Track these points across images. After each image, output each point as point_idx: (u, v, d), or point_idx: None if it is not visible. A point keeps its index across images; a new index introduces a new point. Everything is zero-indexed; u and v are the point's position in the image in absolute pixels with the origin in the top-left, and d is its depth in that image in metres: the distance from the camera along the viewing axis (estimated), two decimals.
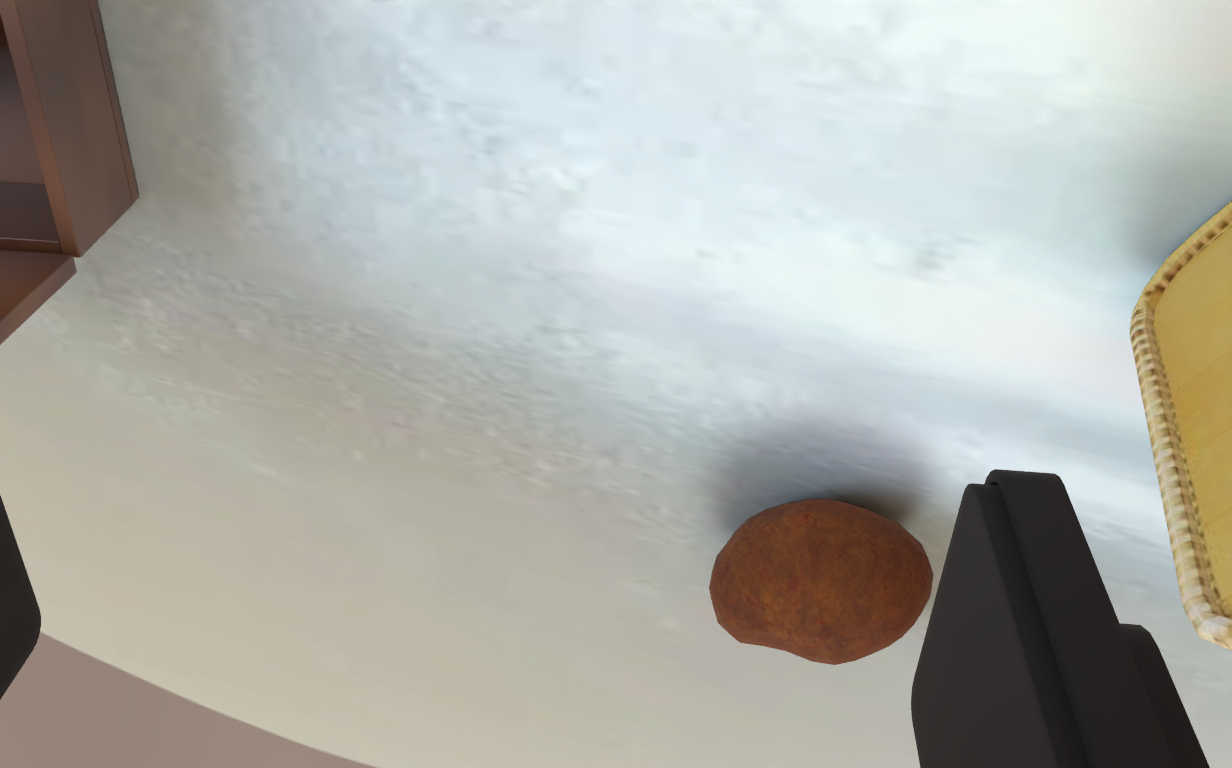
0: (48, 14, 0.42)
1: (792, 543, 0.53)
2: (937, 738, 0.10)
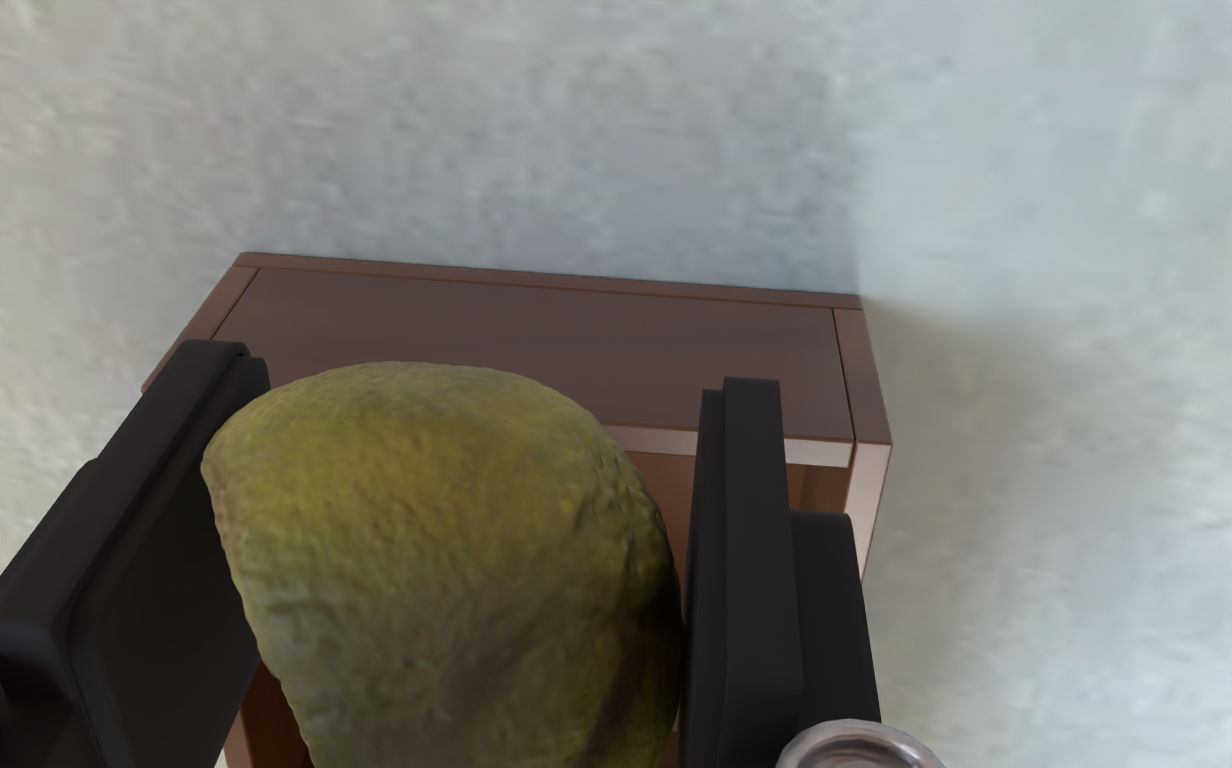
0: None
1: None
2: None
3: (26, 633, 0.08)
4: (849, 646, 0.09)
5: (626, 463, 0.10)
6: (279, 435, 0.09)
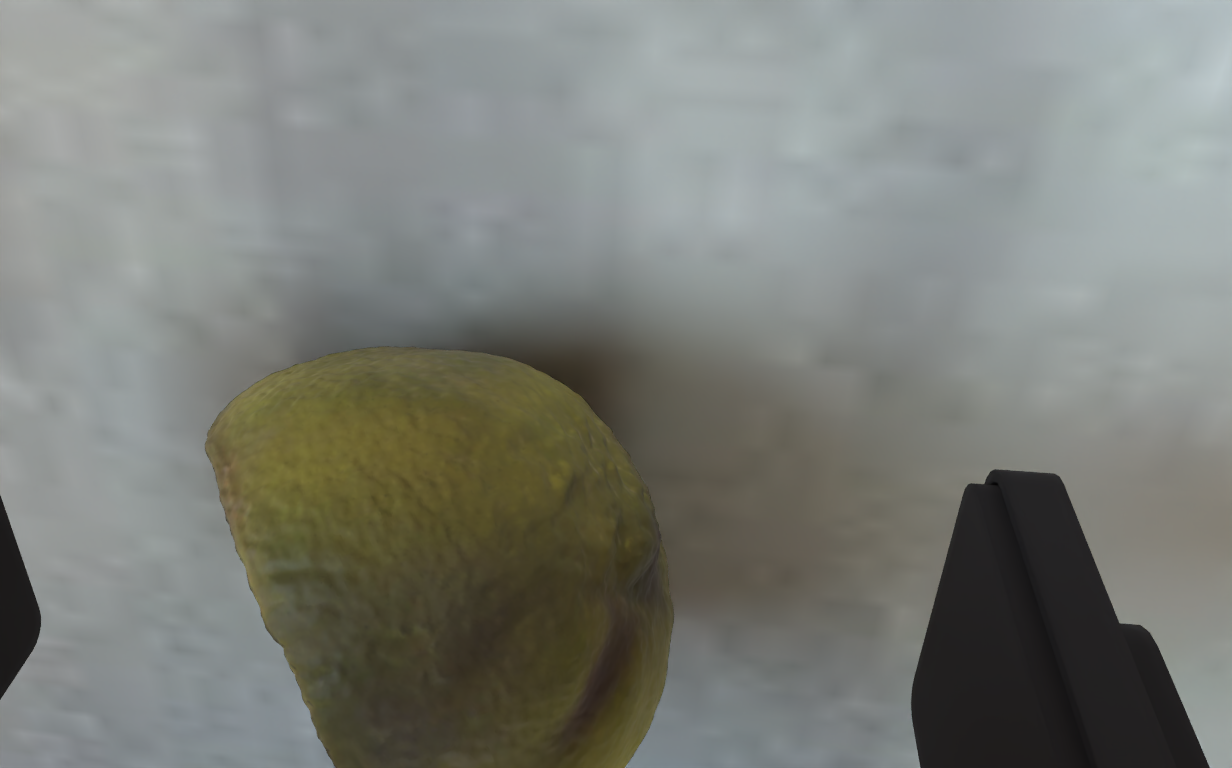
0: None
1: None
2: (937, 738, 0.10)
3: None
4: None
5: (615, 444, 0.11)
6: (280, 414, 0.09)
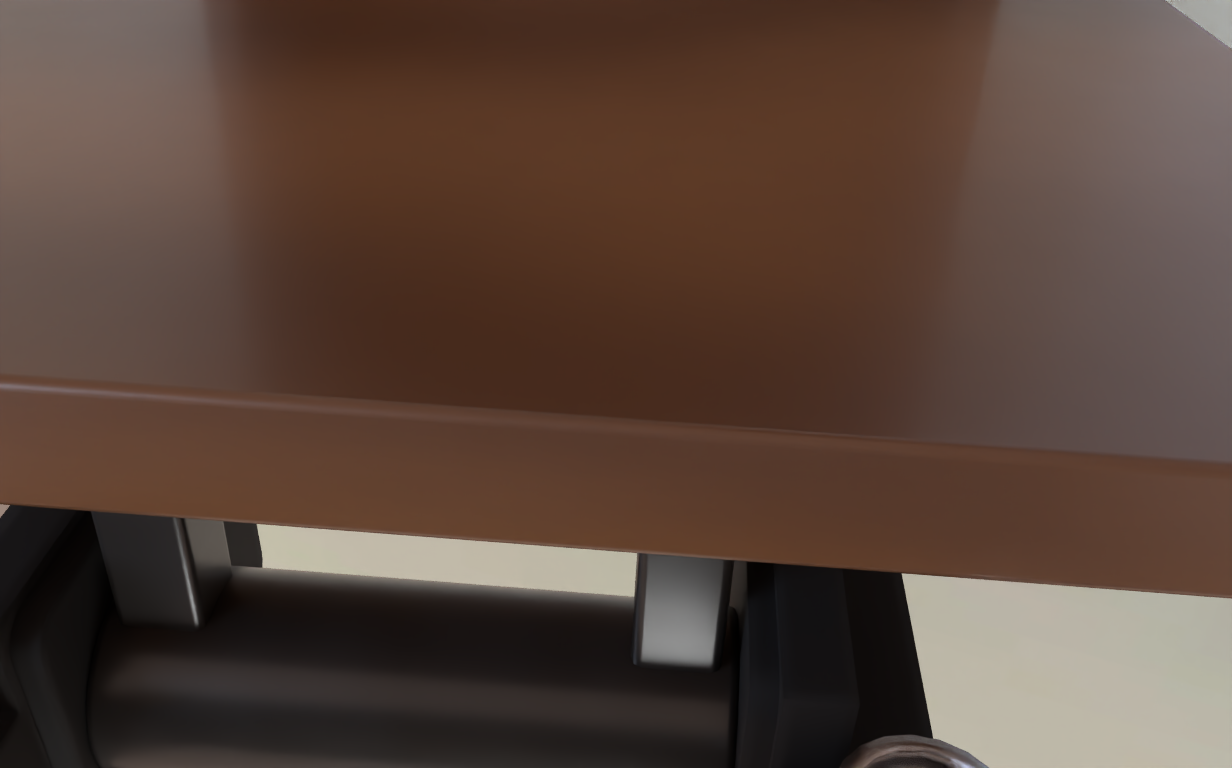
0: None
1: None
2: None
3: None
4: (896, 659, 0.09)
5: None
6: None
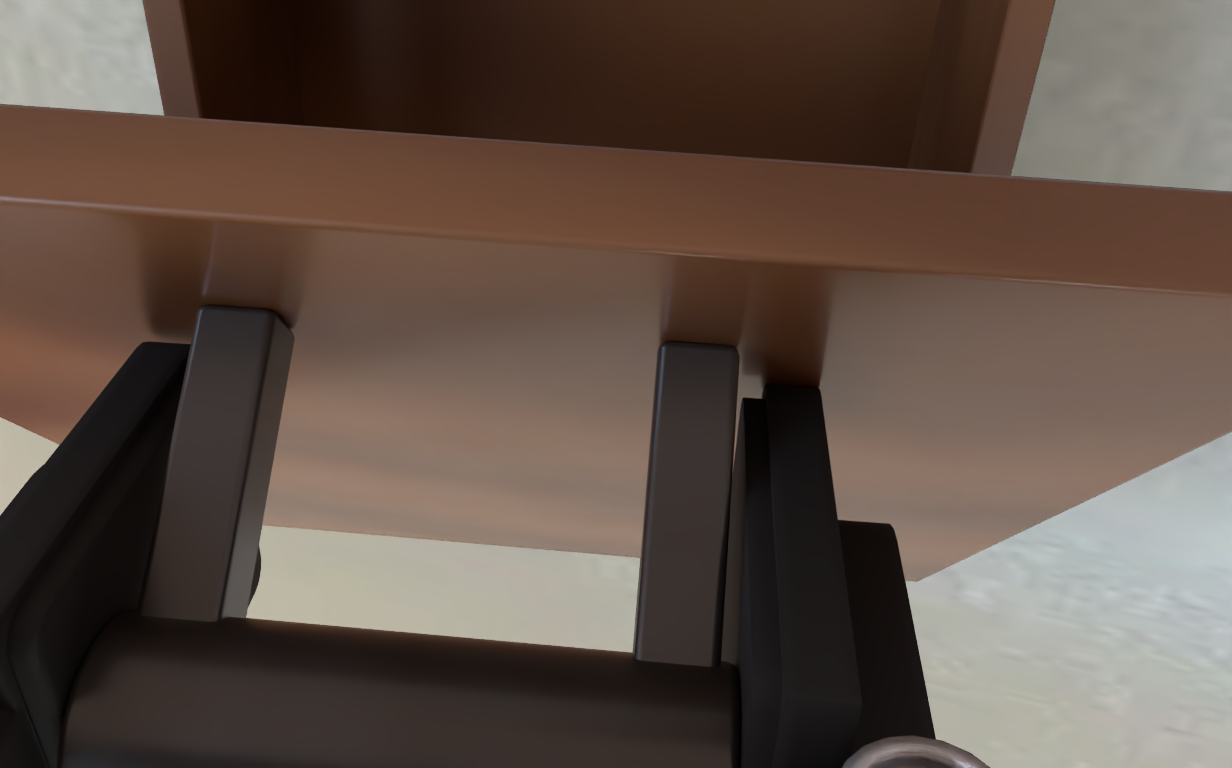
0: None
1: None
2: None
3: None
4: (898, 660, 0.09)
5: None
6: None
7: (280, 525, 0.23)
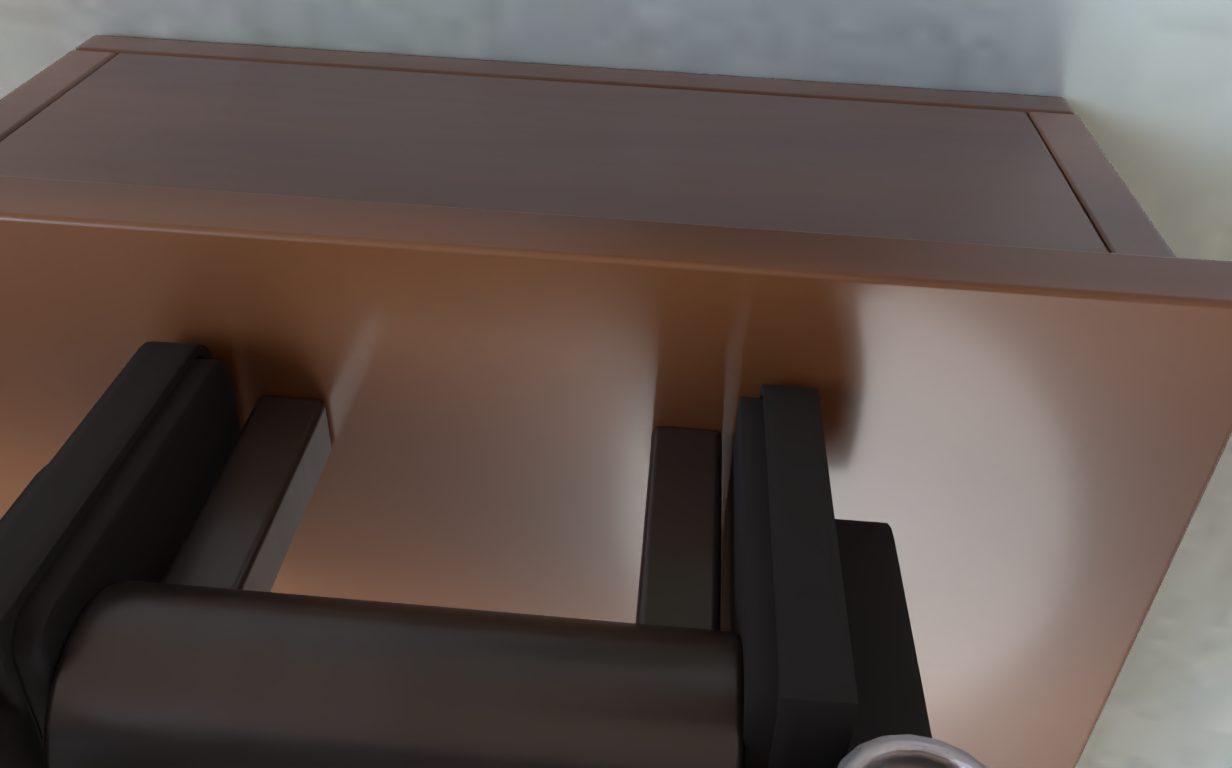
0: None
1: None
2: None
3: None
4: (896, 659, 0.09)
5: None
6: None
7: None
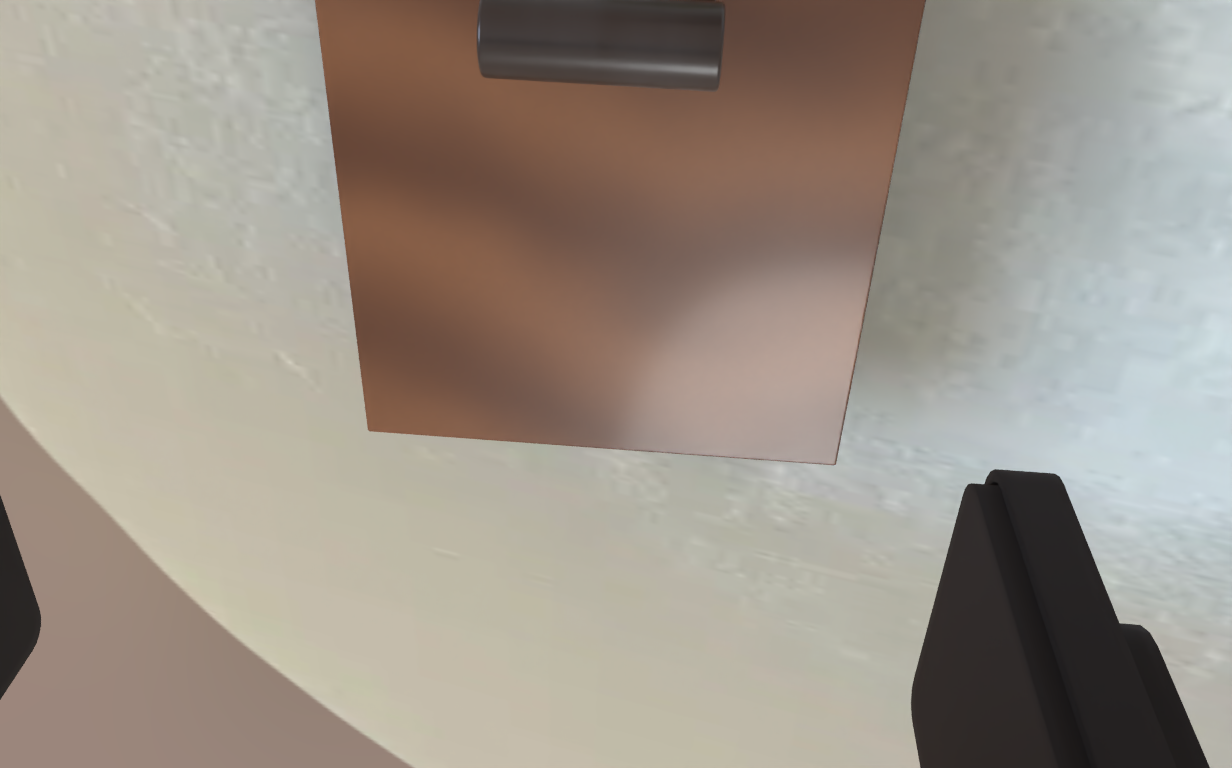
0: None
1: None
2: (937, 738, 0.10)
3: None
4: None
5: None
6: None
7: (408, 427, 0.35)
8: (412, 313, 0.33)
